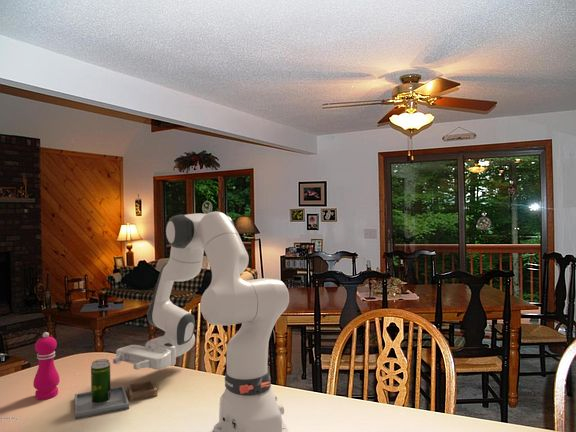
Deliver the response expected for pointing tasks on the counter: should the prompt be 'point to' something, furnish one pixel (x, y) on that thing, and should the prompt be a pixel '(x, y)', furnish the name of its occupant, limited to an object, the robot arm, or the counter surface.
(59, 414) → the counter surface
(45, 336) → the pepper mill
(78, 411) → the tray
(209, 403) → the counter surface
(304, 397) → the counter surface
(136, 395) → the can holder
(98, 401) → the beer can
